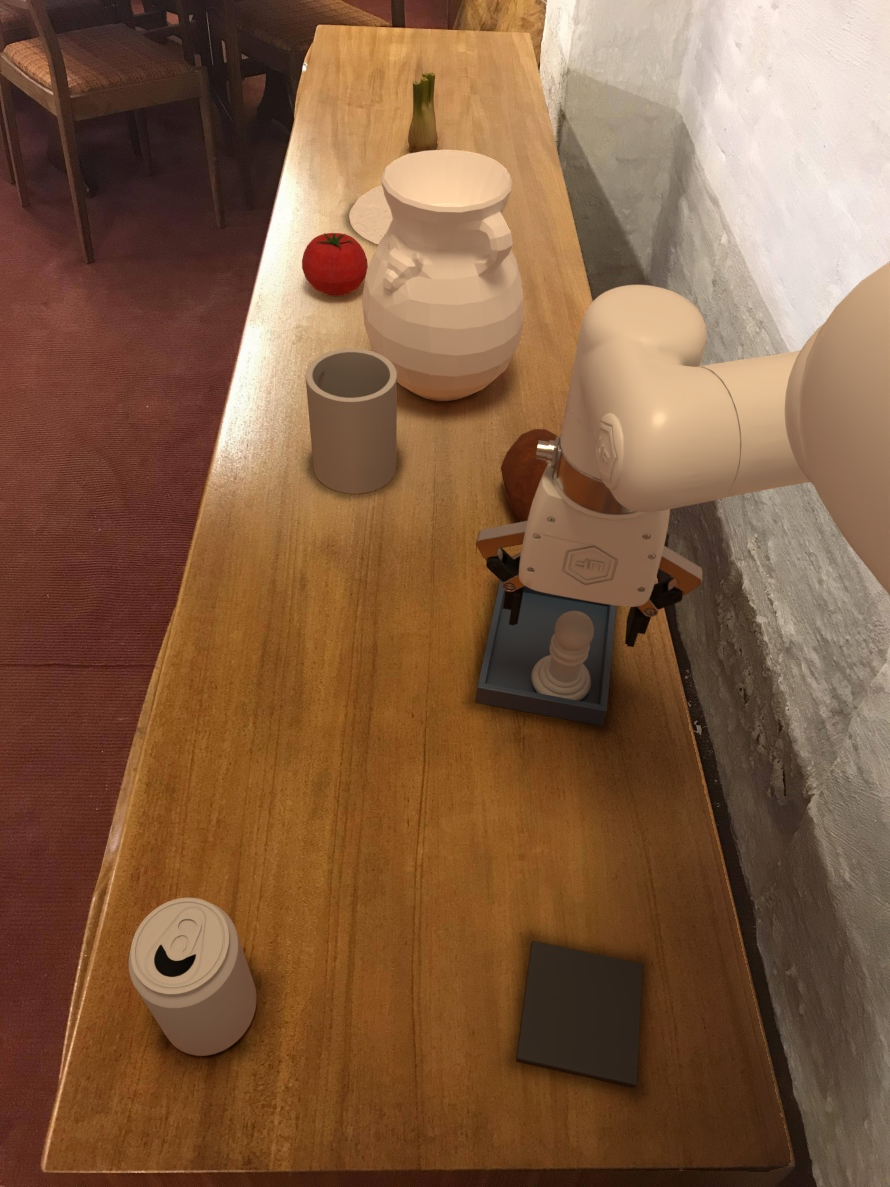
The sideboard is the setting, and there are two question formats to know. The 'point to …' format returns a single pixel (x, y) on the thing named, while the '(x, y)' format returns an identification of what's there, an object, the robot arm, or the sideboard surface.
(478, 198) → the white vase
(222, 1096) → the sideboard surface
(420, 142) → the fennel bulb
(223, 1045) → the beverage can
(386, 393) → the cup
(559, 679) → the chess piece
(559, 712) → the tray
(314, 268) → the tomato
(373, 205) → the plaque
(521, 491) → the potato
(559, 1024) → the mat
